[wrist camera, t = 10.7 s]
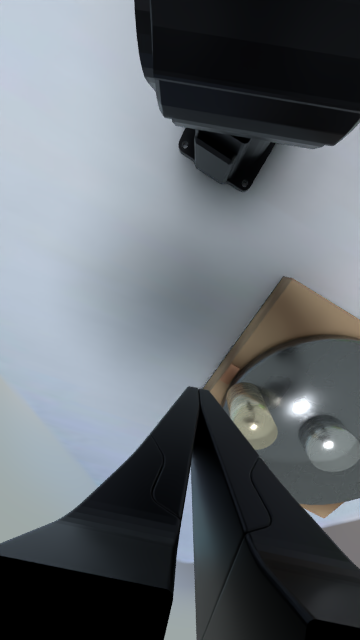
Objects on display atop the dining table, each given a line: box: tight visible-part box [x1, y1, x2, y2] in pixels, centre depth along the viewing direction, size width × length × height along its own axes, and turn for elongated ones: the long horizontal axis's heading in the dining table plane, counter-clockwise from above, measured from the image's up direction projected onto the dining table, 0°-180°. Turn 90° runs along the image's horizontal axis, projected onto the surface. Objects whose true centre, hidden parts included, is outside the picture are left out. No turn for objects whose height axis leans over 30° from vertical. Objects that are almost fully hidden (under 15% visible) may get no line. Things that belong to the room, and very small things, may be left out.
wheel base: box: [203, 277, 360, 518], centre depth 22 cm, size 20×20×2 cm
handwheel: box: [221, 335, 360, 505], centre depth 18 cm, size 18×18×6 cm
